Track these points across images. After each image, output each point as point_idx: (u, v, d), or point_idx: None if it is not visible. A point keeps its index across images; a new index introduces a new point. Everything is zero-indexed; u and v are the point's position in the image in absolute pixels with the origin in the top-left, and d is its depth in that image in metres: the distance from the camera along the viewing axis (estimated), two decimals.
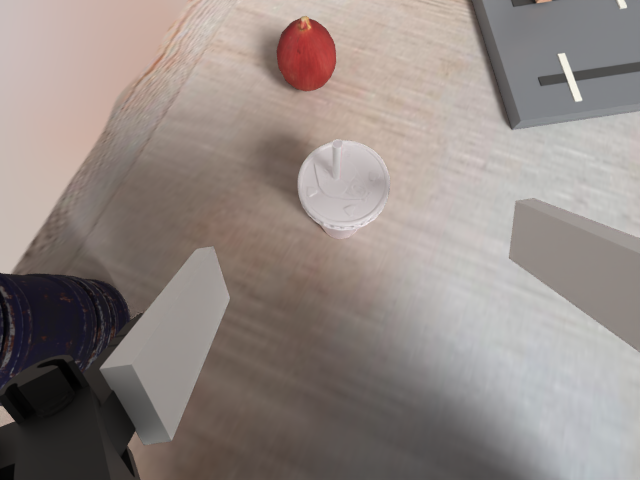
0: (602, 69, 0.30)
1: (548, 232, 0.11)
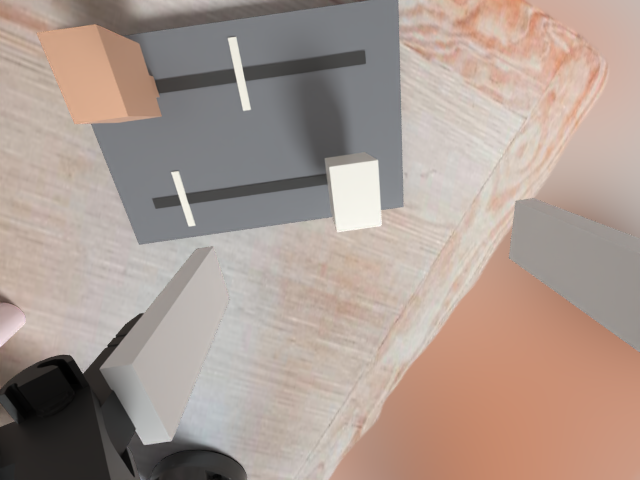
0: (217, 191, 0.30)
1: (548, 232, 0.11)
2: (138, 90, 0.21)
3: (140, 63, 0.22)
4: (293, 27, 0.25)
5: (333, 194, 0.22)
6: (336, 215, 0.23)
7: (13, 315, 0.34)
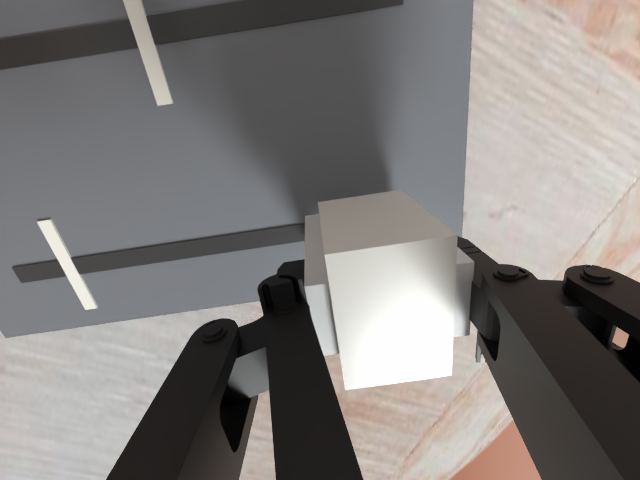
0: (129, 251, 0.17)
1: None
2: None
3: None
4: None
5: (336, 316, 0.09)
6: (344, 359, 0.09)
7: None
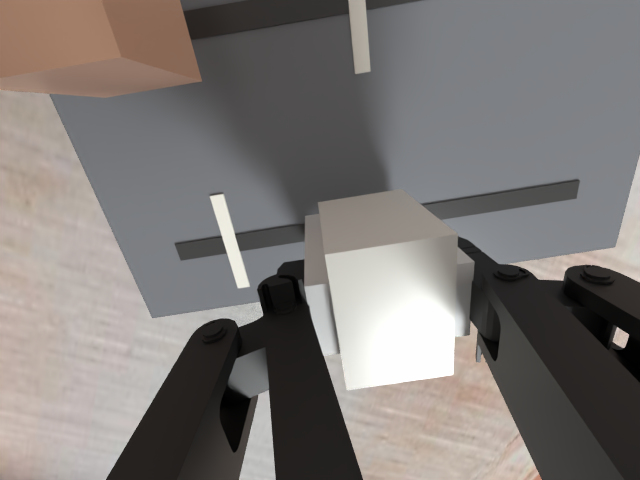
0: (292, 227, 0.16)
1: None
2: None
3: None
4: None
5: (337, 316, 0.09)
6: (345, 359, 0.09)
7: None
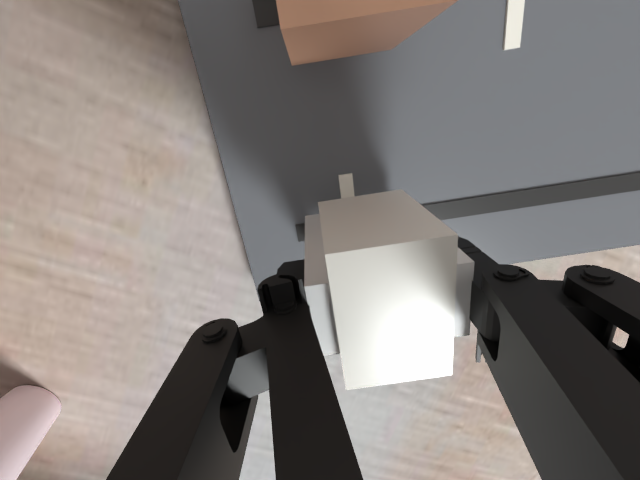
0: None
1: None
2: None
3: None
4: None
5: (337, 315, 0.09)
6: (344, 359, 0.09)
7: (43, 407, 0.21)
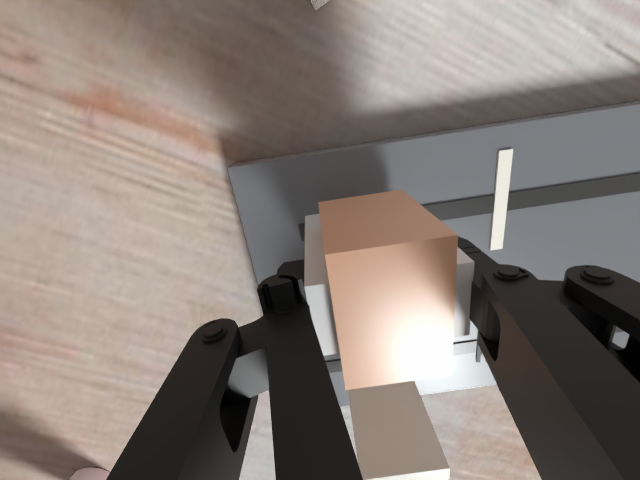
0: None
1: None
2: None
3: None
4: (608, 132, 0.15)
5: None
6: None
7: None
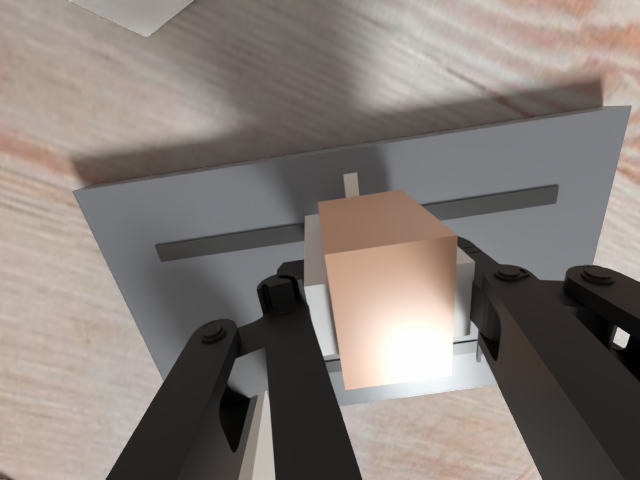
0: None
1: None
2: None
3: None
4: (450, 156, 0.15)
5: None
6: None
7: None
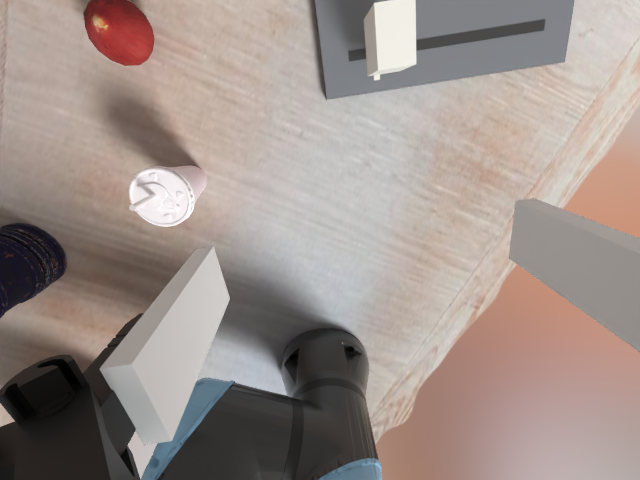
0: None
1: (548, 232, 0.11)
2: None
3: None
4: None
5: (376, 31, 0.26)
6: (378, 52, 0.27)
7: (202, 174, 0.39)
